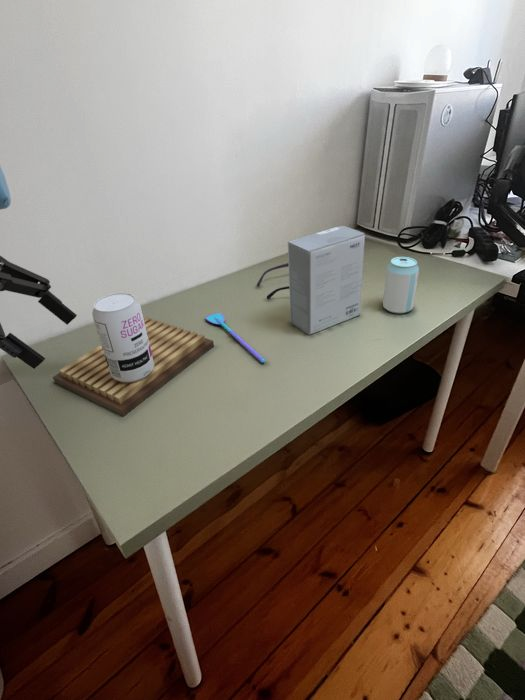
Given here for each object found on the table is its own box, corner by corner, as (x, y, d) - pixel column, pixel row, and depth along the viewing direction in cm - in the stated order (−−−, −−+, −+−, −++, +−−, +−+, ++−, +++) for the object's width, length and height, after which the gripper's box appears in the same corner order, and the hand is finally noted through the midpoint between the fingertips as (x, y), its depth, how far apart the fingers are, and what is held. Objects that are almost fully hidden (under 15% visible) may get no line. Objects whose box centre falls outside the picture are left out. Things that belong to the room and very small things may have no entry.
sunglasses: (326, 292, 114) (327, 274, 111) (270, 303, 110) (270, 286, 107) (305, 273, 125) (306, 256, 122) (254, 283, 121) (253, 266, 118)
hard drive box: (339, 303, 108) (343, 224, 97) (360, 315, 103) (367, 233, 92) (288, 322, 102) (287, 240, 90) (308, 336, 96) (309, 250, 85)
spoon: (202, 318, 105) (201, 314, 104) (217, 313, 107) (216, 308, 106) (260, 365, 88) (260, 360, 87) (276, 358, 89) (276, 353, 89)
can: (376, 305, 106) (381, 259, 100) (399, 298, 109) (405, 253, 102) (395, 317, 101) (401, 269, 94) (419, 310, 103) (427, 263, 97)
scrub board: (123, 416, 77) (119, 403, 75) (54, 382, 86) (50, 370, 85) (214, 346, 95) (212, 334, 93) (148, 324, 104) (146, 313, 103)
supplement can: (121, 358, 87) (102, 291, 79) (160, 360, 86) (145, 291, 78) (104, 383, 80) (81, 312, 72) (146, 385, 79) (128, 313, 71)
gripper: (-25, 237, 79) (72, 315, 88) (-129, 305, 59) (10, 397, 68) (-3, 211, 76) (94, 294, 85) (-106, 274, 56) (36, 374, 65)
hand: (57, 340), depth 77 cm, fingers open, 13 cm apart
